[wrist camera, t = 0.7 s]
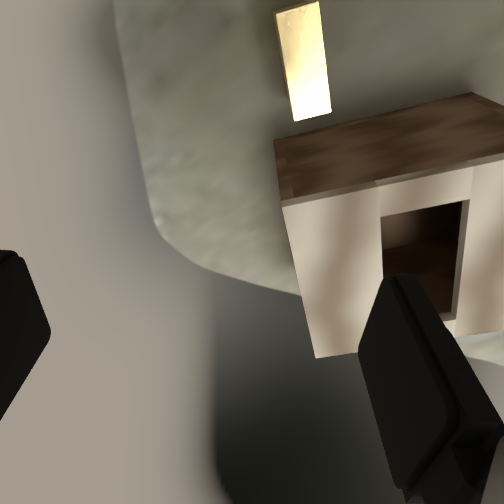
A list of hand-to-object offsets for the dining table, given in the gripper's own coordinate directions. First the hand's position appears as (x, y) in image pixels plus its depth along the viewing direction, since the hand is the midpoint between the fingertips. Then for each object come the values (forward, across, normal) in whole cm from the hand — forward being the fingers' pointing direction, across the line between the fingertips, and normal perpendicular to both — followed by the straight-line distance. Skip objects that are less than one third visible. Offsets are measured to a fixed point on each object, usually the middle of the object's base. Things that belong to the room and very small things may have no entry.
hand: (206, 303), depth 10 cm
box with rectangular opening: (+23, -13, +7) cm, 27 cm away
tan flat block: (+23, -4, -4) cm, 24 cm away
